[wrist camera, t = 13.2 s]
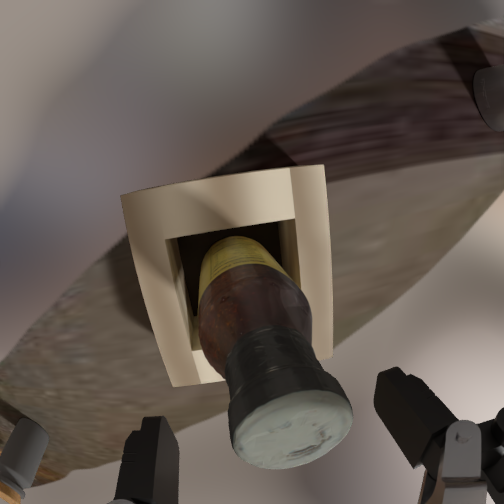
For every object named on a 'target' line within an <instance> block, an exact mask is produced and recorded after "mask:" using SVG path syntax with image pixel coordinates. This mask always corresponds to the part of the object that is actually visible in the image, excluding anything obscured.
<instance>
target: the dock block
mask: <svg viewBox="0 0 504 504" xmlns="http://www.w3.org/2000/svg"><path fill="white" fill-rule="evenodd" d="M121 202H122V208H123V213H124V218H125V223H126V228H127V233H128V237H129V242H130V246H131V251H132V255H133V259H134V263H135V268H136V272H137V275H138V279H139V283H140V287H141V291H142V294H143V298H144V301H145V305H146V308H147V312H148V315H149V318H150V322H151V325H152V328H153V331H154V334H155V337H156V341H157V344H158V347H159V350H160V352H161V355H162V358H163V361H164V364H165V367H166V370H167V372H168V375H169V378H170V380H171V383H172V386H173V387H179V386H187V385H196V384H203V383H210V382H217V381H224V380H225V379H223V378H222V376H221V375H220V374H219V373H217V372H216V371H215V369H214V368H213V367H212V366H210V364H209V362H208V361H207V359H206V358H205V356H204V353H203V351H202V347H201V345H200V339H199V336H198V334H199V329H198V327H199V323H198V316H194V315H193V310H192V306H191V302H190V298H189V293H188V289H187V284H186V280H185V275H184V270H183V266H182V261H181V256H180V251H179V246H178V241H177V237H182V236H187V235H193V234H199V233H205V232H211V231H217V230H223V229H229V228H236V227H242V226H248V225H255V224H261V223H268V222H274V221H278V230H279V239H280V249H281V258H282V268H283V269H284V270H285V272H286V273H287V274H288V275H289V276H290V277H291V278H292V279H293V281H294V282H295V283H296V284H297V285H298V286H299V288H300V289H301V290H302V291H303V293H304V295H305V296H306V298H307V300H308V302H309V305H310V308H311V312H312V347H313V349H314V352H315V355H316V358H317V360H318V361H320V360H324V359H328V358H331V357H333V294H332V265H331V245H330V229H329V215H328V203H327V192H326V182H325V172H324V165H304V166H291V167H282V168H273V169H264V170H256V171H249V172H241V173H234V174H227V175H221V176H214V177H208V178H202V179H196V180H190V181H184V182H179V183H173V184H168V185H163V186H158V187H152V188H147V189H143V190H138V191H135V192H131V193H128V194H124V195H121Z"/></svg>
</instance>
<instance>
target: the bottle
mask: <svg viewBox="0 0 504 504" xmlns="http://www.w3.org/2000/svg"><path fill="white" fill-rule="evenodd" d="M48 441H49V436H48V434H47V433H46V431H45V430H44V429H43V428H42V427H41V426H39V425H38V424H37V423H35V422H34V421H32V420H30V419H27V418H21V419H20V420H19V421H18V423H17V425H16V426H15V428H14V430H13V432H12V434H11V436H10V437H9V439H8V441H7V443H6V445H5V447H4V449H3V451H2V453H1V455H0V497H1V498H2V499H3V500H5V501H6V502H8V503H10V504H20V500H21V499H24V497H25V492H24V491H23V488H30V487H31V485H32V482H33V479H34V477H35V474H36V472H37V469H38V466H39V464H40V461H41V459H42V456H43V454H44V451H45V449H46V446H47V444H48Z"/></svg>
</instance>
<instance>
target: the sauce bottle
mask: <svg viewBox="0 0 504 504" xmlns="http://www.w3.org/2000/svg"><path fill="white" fill-rule="evenodd" d="M198 323H199V327H198V329H199V334H198V336H199V339H200V345H201V347H202V351H203V353H204V356H205V358H206V359H207V361H208V362H209V364H210V366H212V367H213V368H214V369H215V371H216V372H217V373H219V374H220V375H221V376H222V378H223V379H225V380H226V382H227V384H228V386H229V392H230V400H231V401H230V403H229V409H228V418H229V431H230V439H231V443H232V447H233V449H234V451H235V453H236V454H237V455H238V456H239V457H240V458H241V459H242V460H243V461H246V462H249V463H250V464H251V465H254V466H256V467H260V468H265V469H286V468H291V467H296V466H300V465H302V464H306V463H309V462H311V461H313V460H315V459H317V458H319V457H321V456H322V455H324V454H326V453H327V452H328V451H329V450H331V449H332V448H333V447H334V446H336V445H337V444H338V443H339V442H341V440H342V439H343V438H344V437H345V436H346V434H347V433H348V431H349V429H350V427H351V425H352V420H353V412H352V407H351V404H350V402H349V400H348V398H347V396H346V394H345V392H344V390H343V389H342V387H341V385H340V384H339V382H338V381H337V380H336V378H334V377H333V376H331V374H329V373H328V372H326V371H324V369H323V368H322V366H321V364H320V363H319V361H318V360H317V358H316V355H315V352H314V349H313V347H312V312H311V308H310V305H309V302H308V300H307V298H306V296H305V295H304V293H303V291H302V290H301V289H300V288H299V286H298V285H297V284H296V283H295V282H294V281H293V279H292V278H291V277H290V276H289V275H288V274H287V273H286V272H285V270H284V269H283V268H282V267H281V266H280V265H279V264H278V262H277V261H276V260H275V259H274V258H273V257H272V256H271V255H270V253H269V252H268V251H267V250H266V249H265V248H264V247H263V246H262V245H261V244H260V243H258V242H257V241H255V240H253V239H250V238H247V237H244V236H231V237H227V238H224V239H222V240H219V241H217V242H215V243H214V244H212V245H211V248H210V249H209V250H208V252H207V253H206V255H205V256H204V258H203V261H202V264H201V272H200V282H199V301H198Z"/></svg>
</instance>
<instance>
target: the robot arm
mask: <svg viewBox="0 0 504 504" xmlns="http://www.w3.org/2000/svg"><path fill="white" fill-rule="evenodd" d="M473 88H474V95H475V99H476V103H477V105H478V108H479V111H480V113H481V115H482V117H483V119H484V120H485V122H486V123H487V124H488V126H489V127H491V128H492V129H493V130H495V131H504V65H499V66H494V67H489V68H485V69H480V70H478V71H477V72H476V73H475V76H474V81H473ZM374 407H375V410H376V412H377V414H378V416H379V417H380V419H381V420H382V422H383V423H384V425H385V426H386V428H387V429H388V431H389V432H390V434H391V435H392V437H393V438H394V439H395V441H396V443H397V444H398V446H399V447H400V449H401V451H402V452H403V454H404V455H405V457H406V458H407V460H408V461H409V463H410V464H411V466H412V467H413V469H415V468H417V467H419V466H421V465H424V466H425V468H426V470H425V472H424V477H423V482H422V486H421V491H420V495H419V499H418V503H417V504H486V495H487V491H488V493H489V494H490V496H491V498H492V499H493V501H494V502H495V504H504V408H502V409H501V410H500V411H499V412H498V414H497V416H496V418H495V419H492V420H489V421H486V422H483V423H480V424H475V423H474V422H472V421H469V420H458V419H457V418H456V417H455V416H454V414H452V412H451V411H450V410H449V409H448V408H447V407H446V406H445V404H444V403H443V402H442V401H441V400H440V399H439V398H438V397H437V396H435V393H433V391H432V390H431V389H429V387H428V386H427V385H426V384H425V383H424V382H423V380H422V379H420V378H418V377H415V376H414V375H412V374H410V375H407V376H406V374H405V373H404V372H403V371H402V370H401V369H400V368H399V367H393V368H391V369H388V370H385V371H382V372H380V373H379V374H378V376H377V382H376V389H375V394H374ZM123 452H124V454H123V456H122V463H121V466H120V471H119V476H118V482H117V487H116V493H115V497H114V499H113V501H111V502H109V503H107V504H178V485H179V447H178V442H177V440H176V438H175V436H174V434H173V432H172V430H171V428H170V426H169V424H168V422H167V420H166V418H165V417H164V416H154V417H144V418H143V420H142V425H141V430H139V431H132V433H131V434H130V435H129V437H128V438H127V440H126V442H125V446H124V451H123Z"/></svg>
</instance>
